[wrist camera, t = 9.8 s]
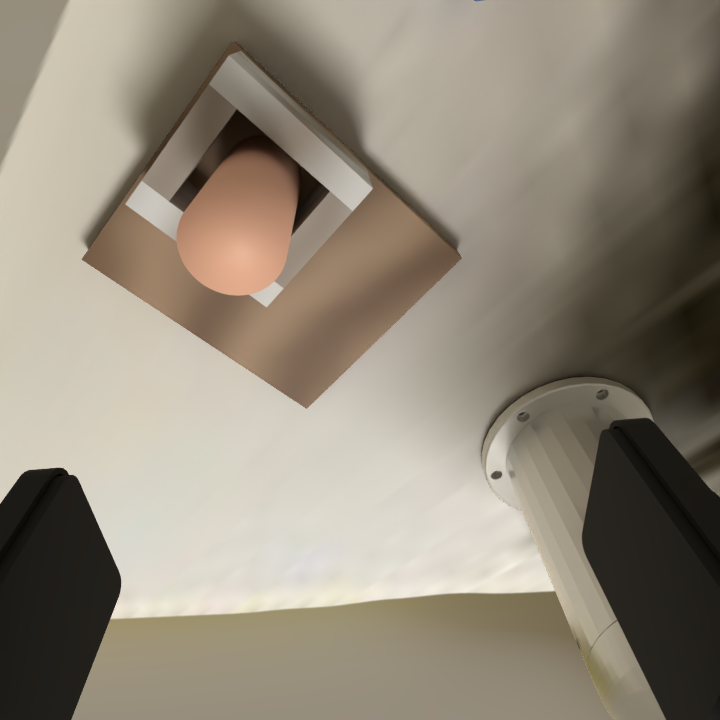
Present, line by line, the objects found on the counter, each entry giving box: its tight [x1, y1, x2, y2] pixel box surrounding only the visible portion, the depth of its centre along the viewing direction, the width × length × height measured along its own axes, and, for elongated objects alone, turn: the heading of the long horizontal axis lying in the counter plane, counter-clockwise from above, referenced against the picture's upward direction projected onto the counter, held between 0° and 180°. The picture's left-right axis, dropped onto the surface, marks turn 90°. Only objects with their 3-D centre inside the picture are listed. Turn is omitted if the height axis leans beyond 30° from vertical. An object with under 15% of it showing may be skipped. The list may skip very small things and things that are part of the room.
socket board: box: [82, 42, 461, 409], centre depth 30 cm, size 16×14×5 cm
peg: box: [176, 136, 302, 296], centre depth 24 cm, size 4×4×10 cm
